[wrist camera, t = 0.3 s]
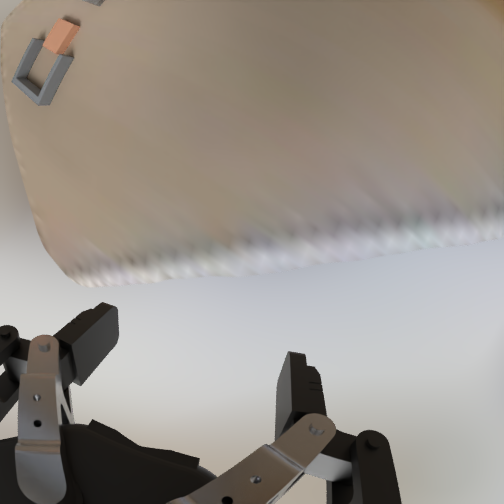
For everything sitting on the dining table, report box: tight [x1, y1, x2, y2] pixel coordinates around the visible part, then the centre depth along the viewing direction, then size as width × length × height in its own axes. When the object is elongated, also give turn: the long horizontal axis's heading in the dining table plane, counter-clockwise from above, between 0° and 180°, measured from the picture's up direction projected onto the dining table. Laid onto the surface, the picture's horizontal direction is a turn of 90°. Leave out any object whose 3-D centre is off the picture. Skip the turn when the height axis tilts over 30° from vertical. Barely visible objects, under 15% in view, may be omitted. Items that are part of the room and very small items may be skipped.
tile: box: [42, 18, 80, 54], centre depth 23 cm, size 5×5×2 cm
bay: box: [12, 38, 74, 106], centre depth 25 cm, size 8×11×2 cm
